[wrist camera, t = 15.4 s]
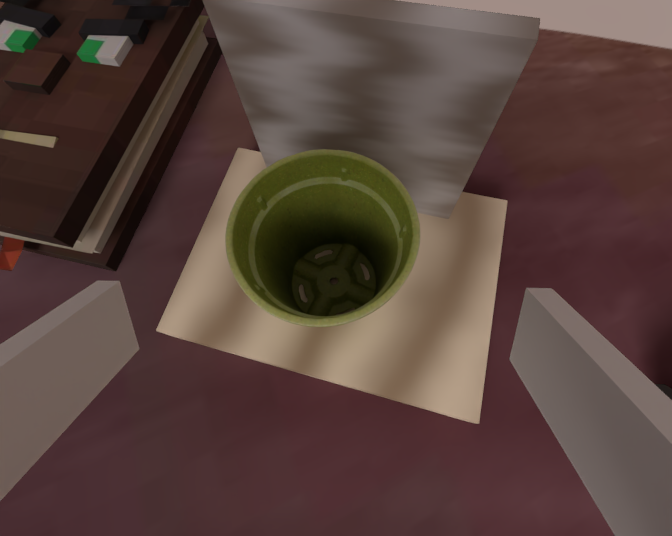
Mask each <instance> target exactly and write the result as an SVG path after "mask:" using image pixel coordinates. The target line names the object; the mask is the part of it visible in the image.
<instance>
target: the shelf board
mask: <svg viewBox="0 0 672 536" xmlns="http://www.w3.org/2000/svg"><path fill="white" fill-rule="evenodd" d="M203 3H204V6H205V8H206V11H207V13H208V16H209V19H210V21H211V24H212V26H213V29H214V32H215V34H216V37H217V39H218V42H219V45H220V47H221V50H222V52H223V55H224V58H225V60H226V63H227V65H228V68H229V71H230V73H231V76H232V78H233V81H234V84H235V86H236V89H237V91H238V94H239V97H240V99H241V102H242V104H243V107H244V110H245V112H246V115H247V117H248V120H249V123H250V125H251V128H252V130H253V133H254V136H255V138H256V141H257V143H258V146H259V149H260V151H261V152H258V151H253V150H248V149H243V148H238V149H237V151H236V154H235V156H234V158H233V160H232V162H231V165H230V167H229V169H228V171H227V174H226V176H225V178H224V180H223V182H222V185H221V187H220V189H219V191H218V194H217V196H216V198H215V200H214V203H213V205H212V207H211V209H210V211H209V214H208V216H207V218H206V220H205V223H204V225H203V227H202V229H201V231H200V234H199V236H198V238H197V240H196V243H195V245H194V247H193V249H192V251H191V254H190V256H189V258H188V260H187V263H186V265H185V267H184V269H183V272H182V274H181V276H180V278H179V280H178V283H177V285H176V287H175V289H174V292H173V294H172V296H171V298H170V300H169V303H168V305H167V307H166V309H165V312H164V314H163V316H162V318H161V320H160V323H159V325H158V327H157V329H156V331H158V332H161V333H164V334H167V335H169V336H173V337H176V338H180V339H183V340H187V341H190V342H194V343H197V344H200V345H204V346H207V347H211V348H214V349H218V350H221V351H225V352H228V353H232V354H235V355H239V356H242V357H245V358H249V359H252V360H256V361H259V362H263V363H266V364H270V365H273V366H277V367H280V368H284V369H287V370H290V371H294V372H297V373H301V374H304V375H308V376H311V377H315V378H318V379H322V380H325V381H328V382H332V383H335V384H339V385H342V386H346V387H349V388H353V389H356V390H360V391H363V392H367V393H370V394H373V395H377V396H380V397H384V398H387V399H391V400H394V401H398V402H401V403H405V404H408V405H412V406H415V407H418V408H422V409H425V410H429V411H432V412H436V413H439V414H443V415H446V416H450V417H453V418H456V419H460V420H463V421H467V422H471V423H477V424H479V420H480V412H481V404H482V396H483V389H484V381H485V373H486V365H487V357H488V350H489V342H490V334H491V326H492V318H493V311H494V303H495V295H496V287H497V279H498V271H499V264H500V256H501V248H502V240H503V232H504V225H505V217H506V209H507V200H502V199H496V198H491V197H486V196H481V195H476V194H471V193H466V192H462V191H463V189H464V187H465V185H466V183H467V181H468V179H469V177H470V175H471V173H472V171H473V169H474V167H475V165H476V163H477V161H478V159H479V157H480V155H481V153H482V151H483V149H484V147H485V145H486V143H487V141H488V139H489V137H490V135H491V133H492V131H493V129H494V127H495V125H496V123H497V121H498V119H499V117H500V115H501V113H502V111H503V109H504V107H505V105H506V103H507V101H508V99H509V97H510V95H511V93H512V91H513V89H514V87H515V85H516V83H517V81H518V79H519V76H520V74H521V72H522V70H523V68H524V66H525V64H526V62H527V60H528V58H529V56H530V54H531V52H532V50H533V48H534V46H535V44H536V42H537V40H538V33H539V25H540V18H533V17H525V16H517V15H509V14H500V13H493V12H485V11H476V10H468V9H459V8H451V7H443V6H436V5H427V4H420V3H411V2H403V1H395V0H203ZM318 149H329V150H343V151H349V152H354V153H357V154H360V155H363V156H365V157H368V158H370V159H372V160H374V161H376V162H378V163H379V164H381V165H382V166H384V167H385V168H386V169H388V170H389V171H390V172H391V173H392V174H394V175H395V176H396V177H397V178H398V179H399V180H400V181H401V183H402V184H403V185H404V187H405V188H406V190H407V191H408V193H409V194H410V196H411V198H412V200H413V202H414V204H415V207H416V210H417V214H418V218H419V223H420V246H419V251H418V255H417V258H416V261H415V264H414V266H413V268H412V271H411V272H410V274H409V276H408V278H407V279H406V281H405V282H404V284H403V285H402V287H401V288H400V289H399V290H398V292H397V293H396V294H395V295H394V296H393V297H392V298H391V299H390V300H389V301H388V302H386V303H385V304H384V305H383V306H382V307H380V308H379V309H377V310H376V311H374V312H372V313H371V314H369V315H367V316H365V317H363V318H361V319H358V320H356V321H353V322H350V323H347V324H343V325H338V326H331V327H308V326H301V325H296V324H292V323H289V322H286V321H283V320H281V319H279V318H277V317H275V316H273V315H271V314H269V313H267V312H266V311H264V310H263V309H261V308H260V307H259V306H258V305H256V304H255V303H254V302H253V301H252V300H251V299H250V298H249V297H248V296H247V295H246V294H245V292H244V291H243V290H242V289H241V287H240V286H239V284H238V283H237V281H236V279H235V277H234V275H233V273H232V271H231V268H230V265H229V262H228V259H227V254H226V246H225V234H226V227H227V222H228V218H229V215H230V212H231V210H232V207H233V205H234V203H235V201H236V199H237V198H238V196H239V194H240V193H241V192H242V190H243V189H244V188H245V187H246V186H247V184H248V183H249V182H250V181H251V180H252V179H253V178H254V177H255V176H256V175H257V174H258V173H260V172H261V171H262V170H263V169H265V168H267V167H268V166H270V165H272V164H273V163H275V162H277V161H278V160H281V159H283V158H285V157H287V156H291V155H295V154H297V153H300V152H304V151H309V150H318ZM332 252H333V251H332V250H325V251H323V252H321V253H319V254H316V255H315V258H316V259H317V258H319V257H322V256H325V255H328V254H332ZM360 265H361V268H362V270H363V273H364V276H365V279H366V280H369V278H370V275H369V271H368V270H367V268H366V267H365V265H363V264H361V263H360ZM337 282H338V280H337V279H336V278H332V279H331V280H330V283H331V284H336V283H337ZM299 293H300V297H301V300H302V301H303V302H307V301H308V300H307V298H306V296H305V293H304V288H303V285H302V284H301V285H300V286H299ZM353 310H355V308H351V309H349V310H347V311H344V312H341V313H337V314H336V315H340V314H344V313H348V312H351V311H353Z"/></svg>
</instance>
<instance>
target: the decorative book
mask: <svg viewBox="0 0 672 536" xmlns="http://www.w3.org/2000/svg"><path fill="white" fill-rule="evenodd" d="M0 1H1V2H5V3H4V5H3V6H2V8H0V245H2V249H1V251H0V269H2V270H9V271H12V269H13V267H14V265H15V263H16V261H17V259H18V257H19V255H20V253H21V251H22V250H26V251H30V252H35V253H39V254H43V255H47V256H52V257H56V258H60V259H65V260H69V261H73V262H78V263H82V264H86V265H90V266H95V267H99V268H103V269H108V270H112V271H116V270H117V268H118V266H119V264H120V262H121V260H122V258H123V256H124V254H125V252H126V250H127V248H128V246H129V243H130V241H131V239H132V237H133V235H134V233H135V231H136V229H137V227H138V225H139V223H140V221H141V219H142V217H143V215H144V213H145V211H146V208H147V206H148V204H149V202H150V200H151V198H152V196H153V194H154V192H155V190H156V188H157V186H158V184H159V182H160V180H161V178H162V176H163V173H164V171H165V169H166V167H167V165H168V163H169V161H170V159H171V157H172V155H173V153H174V151H175V149H176V147H177V145H178V143H179V141H180V139H181V136H182V134H183V132H184V130H185V128H186V126H187V124H188V122H189V120H190V118H191V116H192V114H193V112H194V110H195V108H196V106H197V104H198V101H199V99H200V97H201V95H202V93H203V91H204V89H205V87H206V85H207V83H208V81H209V79H210V77H211V75H212V73H213V71H214V69H215V66H216V64H217V62H218V60H219V58H220V56H221V54H222V50H221V47H220V45H219V42H218V39H216V38H208V37H205V35H204V32H203V28H204V26H205V24H206V22H207V20H208V18H209V16H202V15H200V13H201V12H202V10H203V8H204V3H203V0H0Z"/></svg>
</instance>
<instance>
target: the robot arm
mask: <svg viewBox="0 0 672 536" xmlns="http://www.w3.org/2000/svg"><path fill="white" fill-rule="evenodd" d="M138 350H139V346H138V342H137V339H136V336H135V332H134V329H133V325H132V322H131V318H130V315H129V312H128V308H127V305H126V301H125V298H124V294H123V291H122V287H121V284H120V281H96V282H95V283H93V284H92V285H90V286H89V287H87V288H86V289H84V290H83V291H81V292H79V293H78V294H76V295H75V296H73V297H72V298H70V299H69V300H67V301H66V302H64V303H63V304H61V305H60V306H58V307H57V308H55V309H54V310H52V311H51V312H49V313H48V314H46V315H44V316H43V317H41V318H40V319H38V320H37V321H35V322H34V323H32V324H31V325H29V326H28V327H26V328H25V329H23V330H22V331H20V332H19V333H17V334H16V335H14V336H13V337H11V338H9V339H8V340H6V341H5V342H3V343H2V344H0V501H1V500H2V499H3V497H4V496H5V495H6V494H7V493H8V492H9V491H10V490H11V489H12V488H13V487H14V485H15V484H16V483H17V482H18V481H19V480H20V479H21V478H22V477H23V476H24V475H25V473H26V472H27V471H28V470H29V469H30V468H31V467H32V466H33V465H34V464H35V463H36V461H37V460H38V459H39V458H40V457H41V456H42V455H43V454H44V453H45V452H46V450H47V449H48V448H49V447H50V446H51V445H52V444H53V443H54V442H55V441H56V440H57V438H58V437H59V436H60V435H61V434H62V433H63V432H64V431H65V430H66V429H67V428H68V426H69V425H70V424H71V423H72V422H73V421H74V420H75V419H76V418H77V417H78V415H79V414H80V413H81V412H82V411H83V410H84V409H85V408H86V407H87V406H88V405H89V403H90V402H91V401H92V400H93V399H94V398H95V397H96V396H97V395H98V394H99V393H100V391H101V390H102V389H103V388H104V387H105V386H106V385H107V384H108V383H109V382H110V381H111V379H112V378H113V377H114V376H115V375H116V374H117V373H118V372H119V371H120V370H121V368H122V367H123V366H124V365H125V364H126V363H127V362H128V361H129V360H130V359H131V358H132V356H133V355H134V354H135V353H136V352H137V351H138ZM509 360H510V361H511V363H512V365H513V366H514V368H515V370H516V371H517V373H518V375H519V376H520V378H521V380H522V381H523V383H524V385H525V386H526V388H527V390H528V391H529V393H530V395H531V396H532V398H533V400H534V401H535V403H536V405H537V406H538V408H539V410H540V411H541V413H542V415H543V416H544V418H545V420H546V421H547V423H548V425H549V426H550V428H551V430H552V431H553V433H554V435H555V436H556V438H557V440H558V441H559V443H560V445H561V446H562V448H563V450H564V451H565V453H566V455H567V456H568V458H569V460H570V461H571V463H572V465H573V466H574V468H575V470H576V471H577V473H578V475H579V476H580V478H581V480H582V481H583V483H584V485H585V486H586V488H587V490H588V491H589V493H590V495H591V496H592V498H593V500H594V501H595V503H596V505H597V506H598V508H599V510H600V511H601V513H602V515H603V516H604V518H605V520H606V521H607V523H608V525H609V526H610V528H611V530H612V531H613V533H614V535H615V536H672V389H671V388H670V387H668V386H666V385H665V384H654V383H653V382H652V381H650V380H649V379H648V378H647V377H646V376H645V375H644V374H643V373H642V372H641V371H640V370H639V369H638V368H637V367H635V366H634V365H633V364H632V363H631V362H630V361H629V360H628V359H627V358H626V357H625V356H624V355H623V354H622V353H620V352H619V351H618V350H617V349H616V348H615V347H614V346H613V345H612V344H611V343H610V342H609V341H608V340H606V339H605V338H604V337H603V336H602V335H601V334H600V333H599V332H598V331H597V330H596V329H595V328H594V327H593V326H591V325H590V324H589V323H588V322H587V321H586V320H585V319H584V318H583V317H582V316H581V315H580V314H579V313H578V312H576V311H575V310H574V309H573V308H572V307H571V306H570V305H569V304H568V303H567V302H566V301H565V300H564V299H563V298H561V297H560V296H559V295H558V294H557V293H556V292H555V291H554V290H553V289H552V288H526V291H525V295H524V299H523V304H522V308H521V312H520V316H519V321H518V325H517V329H516V333H515V338H514V342H513V346H512V351H511V355H510V359H509Z"/></svg>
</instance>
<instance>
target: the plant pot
mask: <svg viewBox="0 0 672 536" xmlns="http://www.w3.org/2000/svg"><path fill="white" fill-rule="evenodd" d="M225 246H226V254H227V259H228V262H229V265H230V268H231V271H232V273H233V275H234V277H235V279H236V281H237V283H238V284H239V286H240V287H241V289H242V290H243V291H244V292H245V294H246V295H247V296H248V297H249V298H250V299H251V300H252V301H253V302H254V303H255V304H256V305H258V306H259V307H260V308H261V309H263V310H264V311H266V312H267V313H269V314H271V315H273V316H275V317H277V318H279V319H281V320H283V321H286V322H289V323H292V324H296V325H301V326H308V327H331V326H338V325H343V324H347V323H350V322H353V321H356V320H358V319H361V318H363V317H365V316H367V315H369V314H371V313H372V312H374V311H376V310H377V309H379V308H380V307H382V306H383V305H384V304H385V303H386V302H388V301H389V300H390V299H391V298H392V297H393V296H394V295H395V294H396V293H397V292H398V290H399V289H400V288H401V287H402V285H403V284H404V282H405V281H406V279H407V278H408V276H409V274H410V272H411V271H412V268H413V266H414V264H415V261H416V258H417V255H418V251H419V246H420V223H419V218H418V214H417V210H416V207H415V204H414V202H413V200H412V198H411V196H410V194H409V193H408V191H407V190H406V188H405V187H404V185H403V184H402V183H401V181H400V180H399V179H398V178H397V177H396V176H395V175H394V174H392V173H391V172H390V171H389V170H388V169H386V168H385V167H384V166H382V165H381V164H379V163H378V162H376V161H374V160H372V159H370V158H368V157H365V156H363V155H360V154H357V153H354V152H349V151H343V150H329V149H318V150H309V151H304V152H300V153H297V154H295V155H291V156H287V157H285V158H283V159H281V160H278V161H277V162H275V163H273V164H272V165H270V166H268V167H267V168H265V169H263V170H262V171H261V172H260V173H258V174H257V175H256V176H255V177H254V178H253V179H252V180H251V181H250V182H249V183H248V184H247V186H246V187H245V188H244V189H243V190H242V192H241V193H240V194H239V196H238V198H237V199H236V201H235V203H234V205H233V207H232V210H231V212H230V215H229V218H228V222H227V227H226V234H225ZM325 250H332V251H333V252H332V254H328V255H325V256H322V257H319V258H317V259H316V258H315V255H316V254H319V253H321V252H323V251H325ZM360 263H361V264H363V265H365V267H366V268H367V270H368V271H369V275H370V278H369V280H366V279H365V276H364V273H363V270H362V268H361V265H360ZM332 278H336V279H337V280H338V282H337V283H336V284H331V283H330V280H331V279H332ZM301 284H302V285H303V288H304V293H305V296H306V298H307V300H308V301H307V302H303V301H302V300H301V297H300V293H299V286H300V285H301ZM351 308H355V310H353V311H351V312H348V313H344V314H340V315H336V314H337V313H341V312H344V311H347V310H349V309H351Z"/></svg>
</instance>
